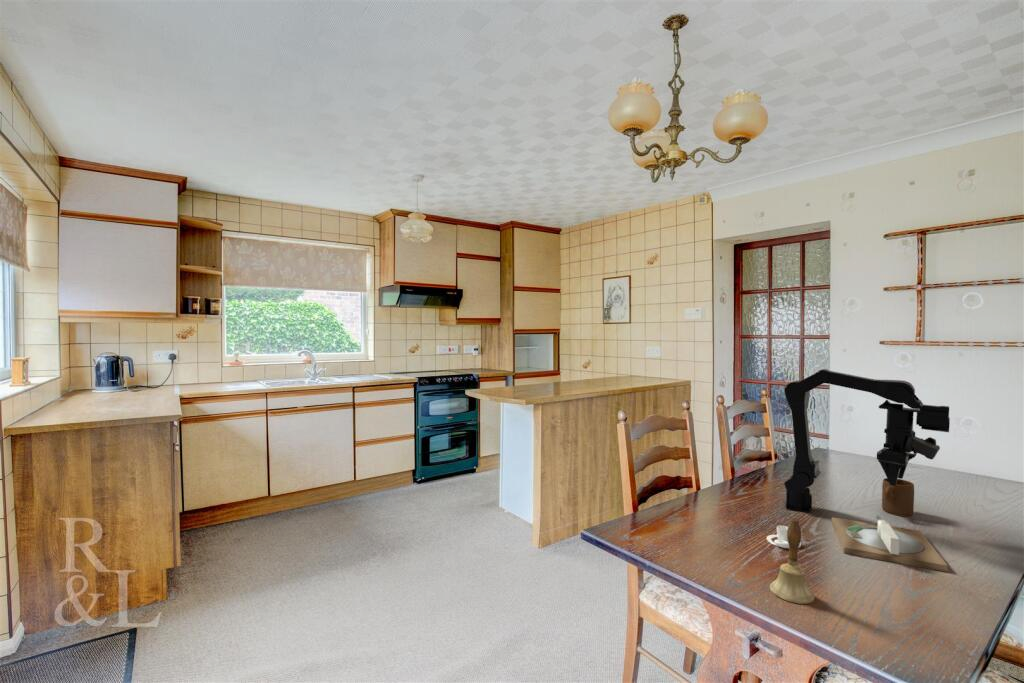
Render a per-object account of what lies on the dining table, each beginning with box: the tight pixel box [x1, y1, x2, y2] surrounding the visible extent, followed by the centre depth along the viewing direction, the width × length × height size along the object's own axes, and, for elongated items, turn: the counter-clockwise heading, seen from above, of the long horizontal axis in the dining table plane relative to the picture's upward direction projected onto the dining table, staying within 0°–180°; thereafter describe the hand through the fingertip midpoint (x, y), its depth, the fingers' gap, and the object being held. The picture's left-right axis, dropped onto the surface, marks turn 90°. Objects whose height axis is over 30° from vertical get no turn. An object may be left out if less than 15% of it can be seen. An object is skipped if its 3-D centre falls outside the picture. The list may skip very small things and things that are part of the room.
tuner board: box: [831, 516, 949, 573], centre depth 125 cm, size 20×21×2 cm
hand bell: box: [769, 518, 815, 605], centre depth 102 cm, size 8×8×16 cm
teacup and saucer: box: [766, 524, 802, 549], centre depth 126 cm, size 9×8×4 cm
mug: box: [881, 477, 915, 517], centre depth 146 cm, size 12×8×9 cm, turn 123°
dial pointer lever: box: [875, 515, 899, 555], centre depth 123 cm, size 18×3×4 cm, turn 153°
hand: (896, 481), depth 134 cm, fingers open, 9 cm apart
